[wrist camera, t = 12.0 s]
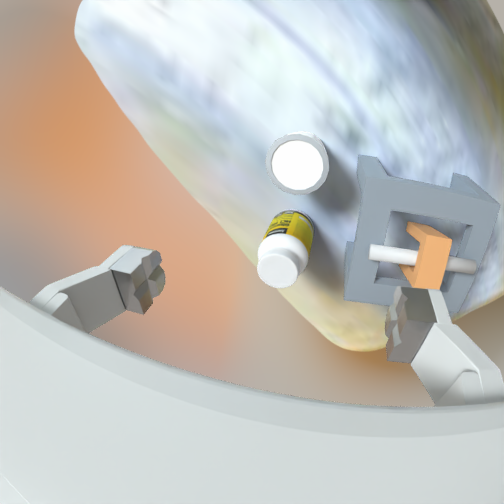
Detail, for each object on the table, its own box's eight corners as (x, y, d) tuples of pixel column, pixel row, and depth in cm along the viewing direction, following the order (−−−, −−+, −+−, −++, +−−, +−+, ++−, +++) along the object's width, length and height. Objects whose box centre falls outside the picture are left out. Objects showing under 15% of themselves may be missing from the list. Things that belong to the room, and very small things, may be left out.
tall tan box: (407, 221, 30) (427, 234, 23) (429, 225, 29) (452, 239, 22) (398, 265, 32) (413, 289, 25) (419, 269, 31) (438, 292, 24)
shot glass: (340, 143, 32) (341, 154, 27) (314, 186, 36) (310, 206, 31) (291, 117, 32) (281, 122, 27) (268, 162, 36) (254, 177, 31)
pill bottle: (293, 198, 38) (278, 237, 29) (323, 230, 39) (316, 277, 30) (262, 224, 42) (239, 267, 33) (291, 253, 43) (276, 301, 34)
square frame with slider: (358, 154, 32) (367, 181, 23) (467, 176, 29) (507, 211, 19) (344, 255, 40) (343, 309, 31) (440, 268, 37) (460, 321, 27)
